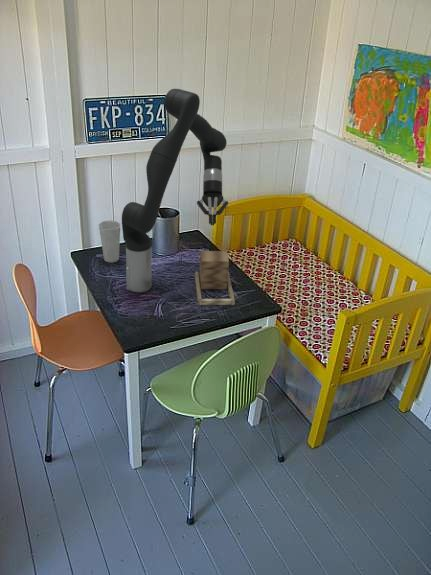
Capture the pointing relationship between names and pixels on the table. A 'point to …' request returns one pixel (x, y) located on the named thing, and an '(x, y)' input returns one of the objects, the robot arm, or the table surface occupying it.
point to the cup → (110, 240)
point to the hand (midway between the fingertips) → (212, 224)
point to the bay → (214, 301)
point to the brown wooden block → (213, 269)
